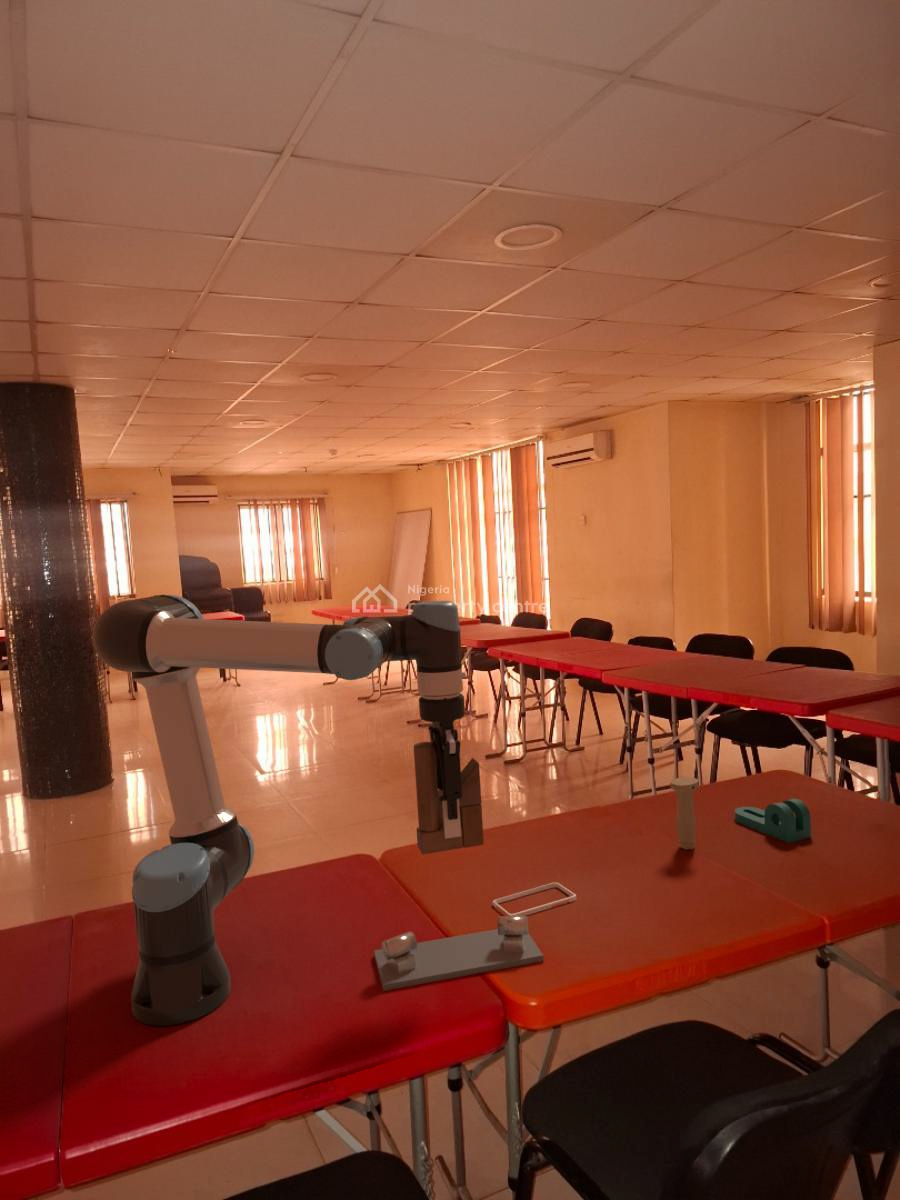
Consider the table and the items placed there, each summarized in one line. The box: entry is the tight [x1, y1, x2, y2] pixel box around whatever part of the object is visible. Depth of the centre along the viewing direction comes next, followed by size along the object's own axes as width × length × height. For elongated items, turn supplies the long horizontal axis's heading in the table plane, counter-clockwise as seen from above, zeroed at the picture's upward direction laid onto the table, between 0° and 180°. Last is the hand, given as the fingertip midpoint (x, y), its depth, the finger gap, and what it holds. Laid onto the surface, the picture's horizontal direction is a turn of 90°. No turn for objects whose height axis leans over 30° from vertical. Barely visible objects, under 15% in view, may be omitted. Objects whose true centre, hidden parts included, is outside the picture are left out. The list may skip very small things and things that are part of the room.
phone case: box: [492, 882, 577, 916], centre depth 152 cm, size 7×1×15 cm
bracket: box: [734, 798, 812, 844], centre depth 182 cm, size 18×7×8 cm, turn 24°
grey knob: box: [497, 915, 529, 952], centre depth 134 cm, size 5×4×5 cm
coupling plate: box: [373, 928, 545, 992], centre depth 133 cm, size 27×11×1 cm, turn 103°
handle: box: [670, 776, 700, 851], centre depth 173 cm, size 5×6×15 cm
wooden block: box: [413, 741, 485, 855], centre depth 131 cm, size 4×11×18 cm, turn 105°
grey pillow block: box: [381, 930, 418, 975], centre depth 130 cm, size 5×4×5 cm
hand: (449, 831), depth 131 cm, fingers closed on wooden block, 4 cm apart
